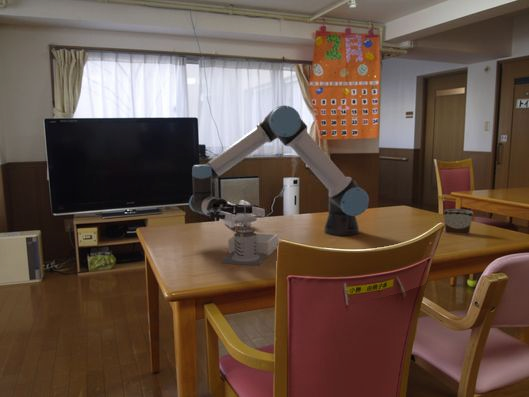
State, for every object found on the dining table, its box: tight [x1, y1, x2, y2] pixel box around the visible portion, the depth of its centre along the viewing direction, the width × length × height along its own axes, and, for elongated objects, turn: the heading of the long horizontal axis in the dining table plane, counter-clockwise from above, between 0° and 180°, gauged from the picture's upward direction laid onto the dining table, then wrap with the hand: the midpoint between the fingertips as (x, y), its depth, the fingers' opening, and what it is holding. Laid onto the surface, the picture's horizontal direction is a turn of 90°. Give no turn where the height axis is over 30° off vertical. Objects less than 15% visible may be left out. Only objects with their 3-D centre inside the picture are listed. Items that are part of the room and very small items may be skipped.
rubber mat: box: [220, 251, 268, 267], centre depth 149 cm, size 13×11×1 cm
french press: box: [232, 185, 260, 261], centre depth 147 cm, size 10×12×25 cm
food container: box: [442, 208, 475, 236], centre depth 187 cm, size 12×6×10 cm, turn 65°
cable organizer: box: [223, 199, 252, 229], centre depth 204 cm, size 15×11×12 cm
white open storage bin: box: [227, 232, 279, 257], centre depth 161 cm, size 15×13×5 cm
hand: (248, 215), depth 145 cm, fingers open, 13 cm apart
